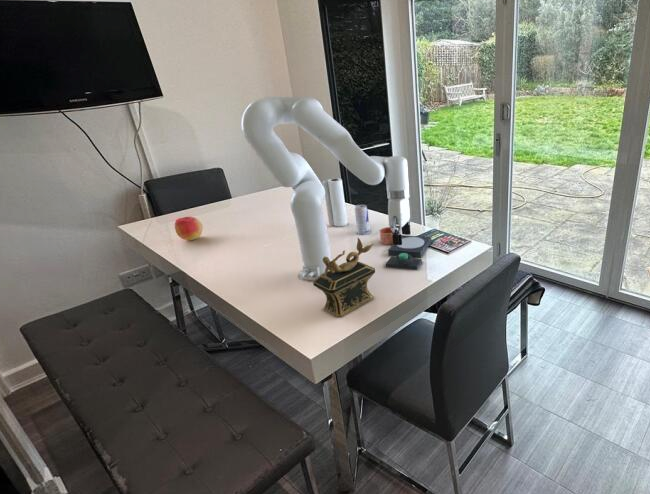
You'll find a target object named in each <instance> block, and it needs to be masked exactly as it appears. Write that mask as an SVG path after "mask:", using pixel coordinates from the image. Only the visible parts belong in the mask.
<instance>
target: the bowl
mask: <svg viewBox="0 0 650 494" xmlns="http://www.w3.org/2000/svg"><path fill="white" fill-rule="evenodd" d="M379 239H380V240H379V241H380V243H381V244H383V245H385V246H388V245H390V246H391V245H393V238H392V232H391V228H390V226H387V227H383V228H381V229H379Z"/></svg>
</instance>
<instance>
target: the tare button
mask: <svg viewBox="0 0 650 494" xmlns="http://www.w3.org/2000/svg"><path fill="white" fill-rule="evenodd" d="M399 259H400V260H406V259H408V254H407V253H401V254H399Z"/></svg>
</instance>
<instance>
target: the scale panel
mask: <svg viewBox="0 0 650 494" xmlns="http://www.w3.org/2000/svg"><path fill="white" fill-rule="evenodd" d="M422 263H423V259H421V258H414V257H412V256H411V255H409V254H408V259H406V260H400V259H399V255H398V256H390V257H389V259H388V260H387V261H386V262H385V268H392V269H402V270H403V269H404V270H415V271H417V270H418V269H419V268H420V266H421V265H422Z"/></svg>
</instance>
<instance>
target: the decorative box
mask: <svg viewBox="0 0 650 494" xmlns="http://www.w3.org/2000/svg"><path fill="white" fill-rule="evenodd" d="M374 245H375V244H374V243H372V244H368V245H365V246H363V243H362V241H361V239H360V237H357V243H356V251H358V252H356V251H350V252H349V253H348V254H347V255H346V258H345V261H346V262H343V263H341V264H338V263H337V262H336V261H337V260H338V259H339V258H341V257H342V256H344V255H345V254H346V250H345V249H344V250H343V251H342V253H340V254H338V255H337V256H336V257H334V258H333V259H332V261H330V260H329V258H328V257H324V258H323V262H324V263H325V265H326V268H325V273H323V274H321V275H320V276H319V277H318V278H316V279H315V280H312V284H313V286H314V287H315V288H317V289H319V290H320V291H322V292H323V293H324V295H325V298H326V301H325V305H324V307H323V310H325V311H326V312H328V313H330V314H332V315H333V316H335V317H343V316H345V315H346V314H348V313H350V312H352V311H353V310H355V309H357V308H359V307H360V306H362V305H364V304H366V303H367V302H369V301H371V300H373V294H371V292H370V290H369V288H368V282H369V280H370V279H371V278H372V277H373V275H374V274H376V268H375V267H374V266H370V265H368V264H367V263H363V262H360V261H359V260H360V255H361V254H364V253H367V252H368V251H370V250H371V249H372V248H373V246H374ZM328 270H330V271H328Z"/></svg>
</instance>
